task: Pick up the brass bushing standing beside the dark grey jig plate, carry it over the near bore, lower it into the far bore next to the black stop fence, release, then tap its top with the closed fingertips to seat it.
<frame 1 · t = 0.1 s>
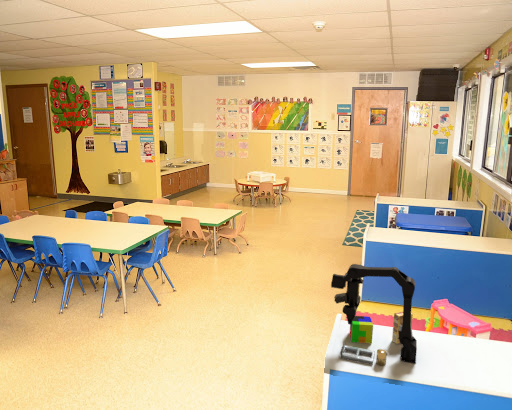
hand: (350, 320, 210), 15 cm above the shelf top, fingers open, 9 cm apart
candy box: (401, 341, 221), on the shelf top
jig: (357, 356, 205), on the shelf top
puzzle toy: (360, 338, 223), on the shelf top
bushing: (380, 363, 199), on the shelf top
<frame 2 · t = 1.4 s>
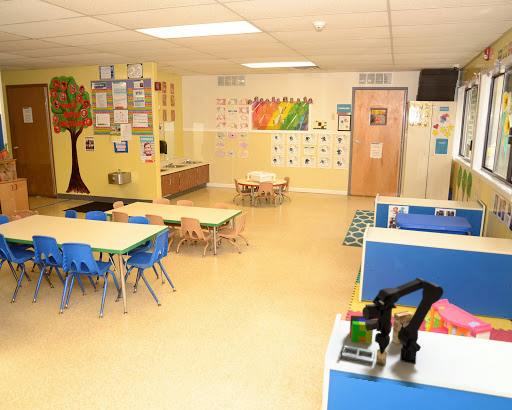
hand: (382, 348, 198), 8 cm above the shelf top, fingers open, 9 cm apart
nothing on the shelf top moved.
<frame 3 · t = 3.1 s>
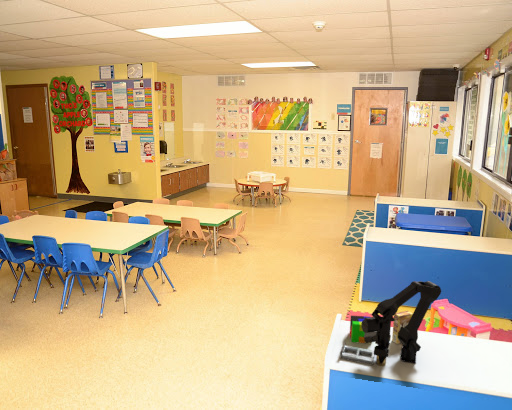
hand: (381, 360, 199), 1 cm above the shelf top, fingers closed on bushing, 4 cm apart
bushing: (380, 363, 199), on the shelf top, touching gripper
everything else where it was.
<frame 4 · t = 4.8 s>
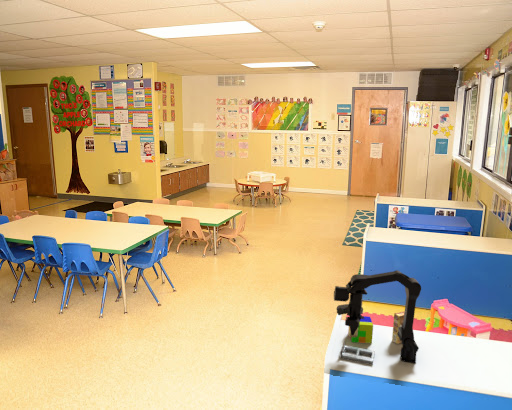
hand: (353, 332, 204), 12 cm above the shelf top, fingers closed on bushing, 4 cm apart
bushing: (352, 335, 204), point 11 cm above the shelf top, touching gripper
everything else where it was.
when the fingers open (2 cm above the shelf top, at t = 6.6 s): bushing drops 1 cm, resting in jig.
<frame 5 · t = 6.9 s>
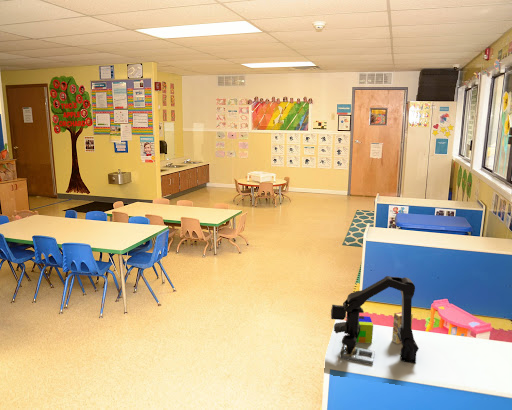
hand: (350, 350, 206), 2 cm above the shelf top, fingers open, 7 cm apart
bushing: (350, 354, 206), resting in jig
everything else where it was.
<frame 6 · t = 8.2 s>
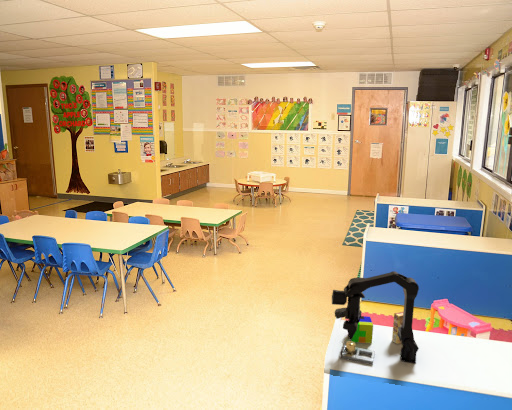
hand: (351, 335, 204), 10 cm above the shelf top, fingers open, 7 cm apart
nothing on the shelf top moved.
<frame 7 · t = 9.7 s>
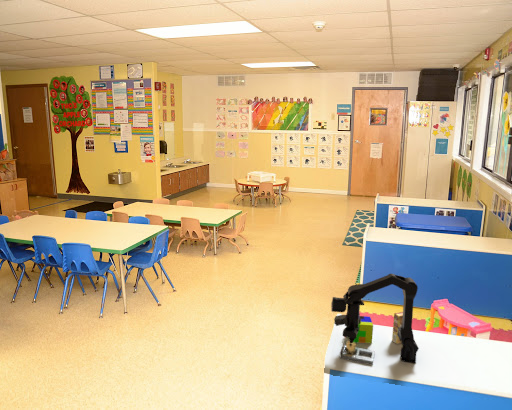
hand: (351, 342, 205), 6 cm above the shelf top, fingers closed
nothing on the shelf top moved.
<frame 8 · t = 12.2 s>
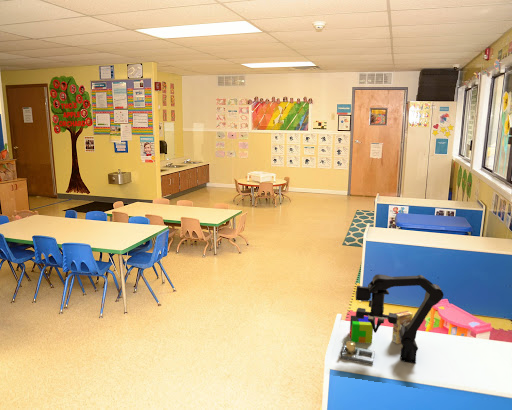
hand: (375, 332, 204), 12 cm above the shelf top, fingers closed
nothing on the shelf top moved.
at the end: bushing 0.0 cm from the target spot on the jig, point 0.0 cm above the jig's base; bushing tilted 1°; the gripper is holding nothing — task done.
